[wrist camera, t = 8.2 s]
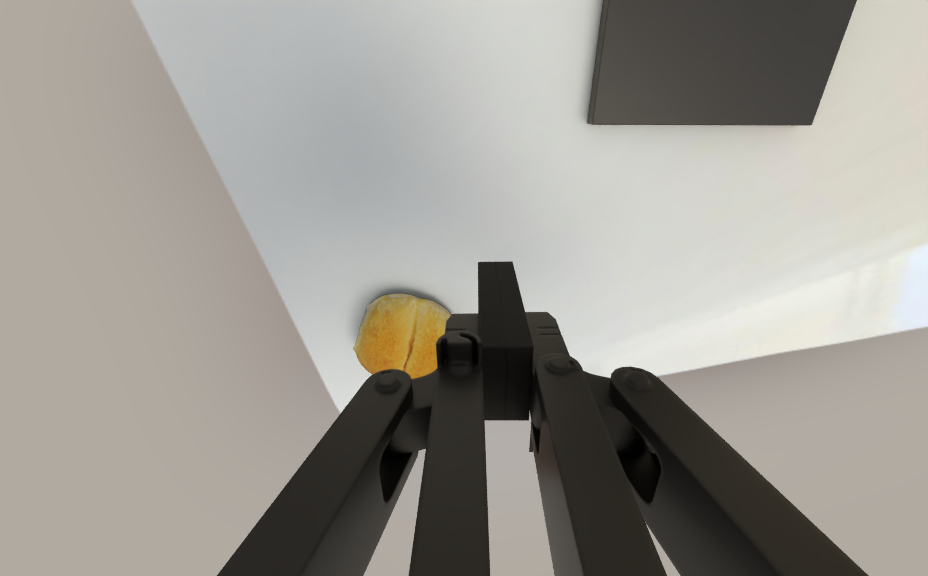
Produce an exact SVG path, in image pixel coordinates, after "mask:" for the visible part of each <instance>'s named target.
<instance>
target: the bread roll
mask: <svg viewBox="0 0 928 576" xmlns="http://www.w3.org/2000/svg"><path fill="white" fill-rule="evenodd" d="M450 316H451V314H450V313H449V312H448V311H447V310H446V309H445V308H443V307H442V306H440V305H439V304H437V303H435V302H433V301H431V300H426V299H419V298H417V297H415V296H413V295H409V294H389V295H384V296H381V297H379V298H378V299H376V300H375V301H373V302H372V303H371V304H369V305H368V307H367V310H366V313H365V315H364V317H363V320H362V325H361V326H360V329H359V335H358V337H357V341H356V343H355V345H354V348H353V350H354V351H355V352H356V355H357V358H358V360H359V362H360V363H361V365H362V366H363V367H364V368H365V369H366V370H367V371H368V372H369V373H371V374H375V373H377V372H379V371H382V370H387V369H399V370H402V371H405V372H406V373H408V374H409V375H410V377H411V379H414V378H418V377H422V376H425V375H428V374H430V373H432V372H433V371H434V370H436V369H437V355H436V342H437V340H438V338H440V337H441V336H442V335H444V334H445V327H446V321H447V320H448V318H449V317H450Z"/></svg>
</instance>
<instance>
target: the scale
mask: <svg viewBox="0 0 928 576" xmlns="http://www.w3.org/2000/svg"><path fill="white" fill-rule="evenodd" d="M856 1H857V0H603V7H602V15H601V23H600V30H599V38H598V46H597V53H596V61H595V69H594V76H593V84H592V92H591V100H590V107H589V115H588V124H593V125H812V123H813V120H814V117H815V114H816V112H817V109H818V106H819V103H820V100H821V98H822V95H823V92H824V89H825V87H826V84H827V81H828V78H829V76H830V73H831V70H832V67H833V65H834V62H835V59H836V56H837V54H838V51H839V48H840V45H841V42H842V40H843V37H844V34H845V31H846V29H847V26H848V23H849V20H850V18H851V15H852V12H853V9H854V7H855V4H856Z"/></svg>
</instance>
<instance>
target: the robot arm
mask: <svg viewBox="0 0 928 576" xmlns="http://www.w3.org/2000/svg"><path fill="white" fill-rule="evenodd" d="M436 355H437V369H436V370H434V371H433V372H432V373H430V374H428V375H425V376H422V377H418V378H414V379H411V377H410V375H409V374H408V373H406V372H405V371H402V370H399V369H387V370H382V371H379V372H377V373H375V374H373V375H371V376H370V377H369V378H368V379H367V380H366V381H365V383H364V384H363V385H362V386H361V388H360V389H359V390H358V392H357V393H356V394H355V396H354V397H353V398H352V400H351V401H350V402H349V404H348V405H347V406H346V407H345V409H344V410H343V411H342V413H341V414H340V415H339V417H338V418H337V419H336V421H335V422H334V423H333V425H332V426H331V427H330V428H329V430H328V431H327V432H326V434H325V435H324V436H323V438H322V439H321V440H320V442H319V443H318V444H317V445H316V447H315V448H314V450H313V451H312V452H311V453H310V455H309V456H308V457H307V458H306V460H305V461H304V462H303V464H302V465H301V466H300V468H299V469H298V470H297V472H296V473H295V474H294V476H293V477H292V478H291V480H290V481H289V482H288V483H287V485H286V486H285V487H284V489H283V490H282V491H281V493H280V494H279V495H278V497H277V498H276V499H275V500H274V502H273V503H272V504H271V506H270V507H269V508H268V510H267V511H266V512H265V514H264V515H263V516H262V517H261V519H260V520H259V521H258V523H257V524H256V525H255V527H254V528H253V529H252V530H251V532H250V533H249V534H248V536H247V537H246V538H245V540H244V541H243V542H242V544H241V545H240V546H239V548H238V549H237V550H236V552H235V553H234V554H233V555H232V557H231V558H230V559H229V561H228V562H227V563H226V565H225V566H224V567H223V569H222V570H221V571H220V572H219V574H218V575H217V576H363V575H364V573H365V571H366V569H367V566H368V564H369V562H370V560H371V557H372V555H373V553H374V551H375V549H376V546H377V544H378V542H379V540H380V538H381V535H382V533H383V531H384V529H385V526H386V524H387V522H388V520H389V518H390V516H391V513H392V511H393V509H394V507H395V504H396V502H397V500H398V498H399V496H400V494H401V491H402V489H403V487H404V485H405V483H406V480H407V478H408V476H409V474H410V471H411V469H412V467H413V465H414V463H415V460H416V458H417V456H418V451H419V450H422V449H426V453H425V460H424V468H423V475H422V482H421V490H420V497H419V505H418V512H417V519H416V526H415V533H414V541H413V548H412V556H411V563H410V570H409V576H490V560H489V535H488V534H489V533H488V506H487V479H486V451H485V426H484V425H485V424H484V420H529V409H530V415H531V434H530V448H529V449H530V450H529V452H533V451H534V457H535V463H536V469H537V474H538V480H539V486H540V492H541V498H542V504H543V510H544V515H545V522H546V527H547V533H548V539H549V545H550V551H551V557H552V562H553V568H554V575H555V576H667V575H666V572H665V570H664V567H663V565H662V562H661V560H660V558H659V555H658V553H657V550H656V548H655V545H654V543H653V540H652V538H651V535H650V533H649V531H648V528H647V526H646V524H647V525H648V527H649V528H650V529H651V531H652V533H653V534H654V536H655V537H656V539H657V540H658V542H659V544H660V545H661V546H662V548H663V550H664V551H665V553H666V554H667V556H668V557H669V559H670V560H671V562H672V563H673V565H674V566H675V568H676V569H677V571H678V572H679V574H680V575H681V576H868V575H867V574H866V573H865V572H864V571H863V570H862V569H861V568H860V567H858V565H857V564H855V563H854V562H853V561H852V560H851V559H850V558H849V557H848V556H847V555H846V554H845V553H844V552H843V551H842V550H841V549H839V547H837V546H836V545H835V544H834V543H833V542H832V541H831V540H830V539H829V538H828V537H827V536H826V535H825V534H824V533H822V532H821V531H820V530H819V529H818V528H817V527H816V526H815V525H814V524H813V523H812V522H811V521H810V520H809V519H808V518H807V517H805V515H803V514H802V513H801V512H800V511H799V510H798V509H797V508H796V507H795V506H794V505H793V504H792V503H791V502H790V501H789V500H787V499H786V498H785V497H784V496H783V495H782V494H781V493H780V492H779V491H778V490H777V489H776V488H775V487H774V486H773V485H772V484H770V483H769V482H768V481H767V480H766V479H765V478H764V477H763V476H762V475H760V473H759V472H758V471H756V469H755V468H753V467H752V466H751V465H750V464H749V463H748V462H747V461H746V460H745V459H744V458H743V457H742V456H741V455H740V454H739V453H737V452H736V451H735V450H734V449H733V448H732V447H731V446H730V445H729V444H728V443H727V442H725V440H724V439H723V438H721V437H720V436H719V435H718V434H717V433H716V432H715V431H714V430H713V429H712V428H711V427H710V426H709V425H708V424H707V423H706V422H704V421H703V420H702V419H701V418H700V417H699V416H698V415H697V414H696V413H695V412H694V411H693V410H692V409H690V407H688V406H687V405H686V404H685V403H684V402H683V401H682V400H681V399H680V398H679V397H678V396H677V395H676V394H675V393H674V392H673V391H672V390H671V389H669V388H668V387H667V386H666V385H665V384H664V383H663V382H662V381H661V380H660V379H659V378H658V377H656V376H655V375H653V374H652V373H650V372H648V371H646V370H643V369H640V368H635V367H621V368H619V369H616V370H615V371H614V372H613V373H612V374H611V378H607V377H602V376H597V375H593V374H590V373H587V372H585V371H583V369H582V367H581V365H580V364H579V363H578V361H577V360H575V359H574V358H572V357H570V356H569V353H568V350H567V348H566V345H565V343H564V340H563V337H562V335H561V332H560V330H559V327H558V324H557V322H556V319H555V318H554V317H552V316H551V315H550V314H549V313H548V312H525V310H524V306H523V302H522V298H521V294H520V290H519V286H518V282H517V278H516V274H515V270H514V266H513V262H478V314H452V315H451V316H450V317H449V318H448V320H447V321H446V327H445V334H444V335H442V336H441V337H440V338H438V340H437V342H436ZM645 522H646V523H645Z"/></svg>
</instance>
